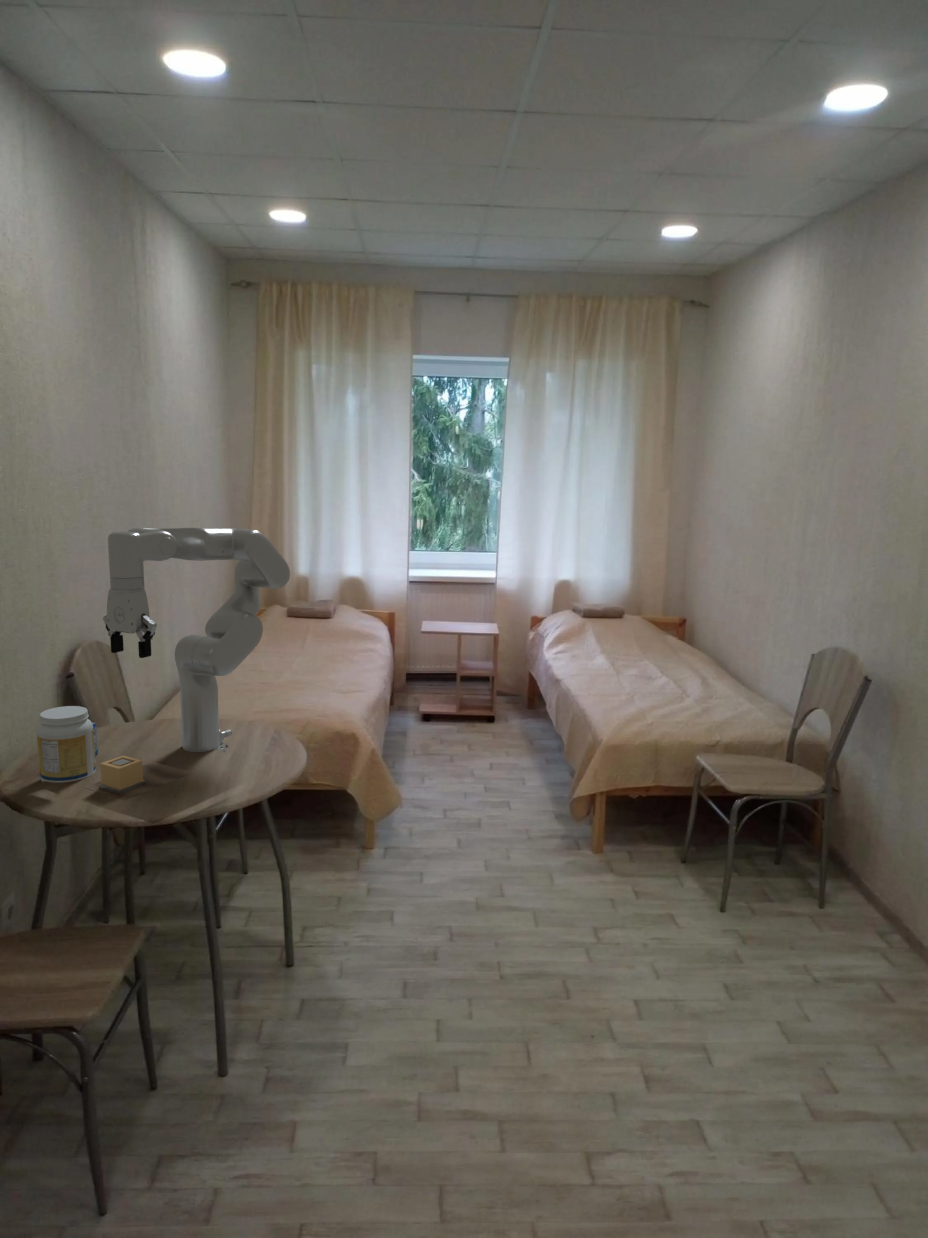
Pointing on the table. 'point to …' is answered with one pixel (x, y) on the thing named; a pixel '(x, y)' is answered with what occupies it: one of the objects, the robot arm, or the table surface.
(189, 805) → the table surface
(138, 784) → the grey stepped block
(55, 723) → the supplement tub
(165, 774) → the board
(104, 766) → the collar
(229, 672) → the robot arm
